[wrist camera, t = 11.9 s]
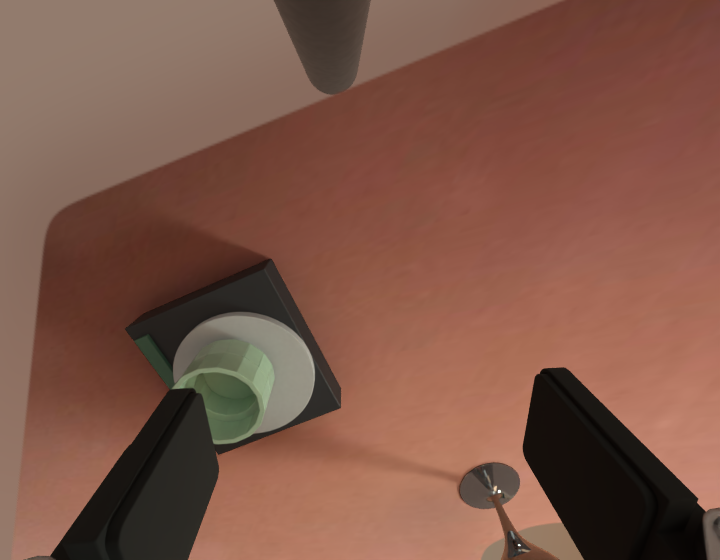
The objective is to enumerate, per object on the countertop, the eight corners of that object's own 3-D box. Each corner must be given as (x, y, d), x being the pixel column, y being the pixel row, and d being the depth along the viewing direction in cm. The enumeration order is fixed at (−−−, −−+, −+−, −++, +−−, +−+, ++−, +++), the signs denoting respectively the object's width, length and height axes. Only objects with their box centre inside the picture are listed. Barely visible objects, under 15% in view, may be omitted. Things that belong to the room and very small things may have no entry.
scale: (143, 313, 32) (118, 333, 29) (271, 257, 31) (262, 271, 28) (227, 432, 37) (215, 462, 34) (341, 388, 36) (341, 414, 32)
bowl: (186, 339, 29) (158, 372, 25) (268, 333, 29) (256, 364, 25) (203, 407, 31) (181, 447, 27) (280, 400, 32) (270, 440, 27)
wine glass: (512, 450, 40) (606, 613, 26) (530, 496, 42) (625, 668, 28) (446, 475, 41) (502, 647, 26) (468, 519, 43) (529, 696, 29)
